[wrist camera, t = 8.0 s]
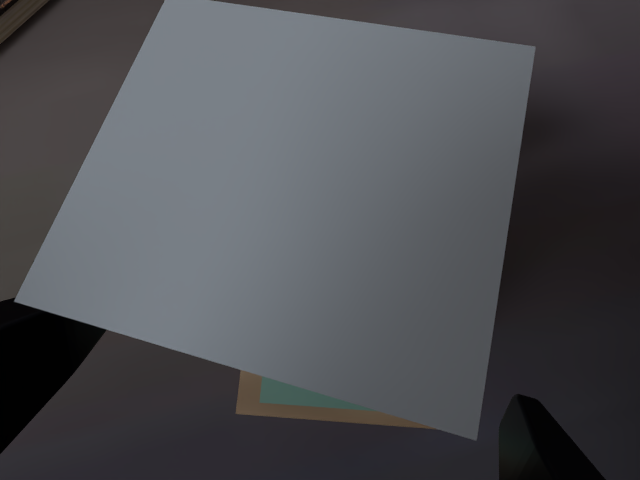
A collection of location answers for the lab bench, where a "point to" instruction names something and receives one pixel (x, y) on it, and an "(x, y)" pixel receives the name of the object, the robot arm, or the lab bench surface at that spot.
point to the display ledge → (304, 404)
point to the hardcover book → (16, 14)
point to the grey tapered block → (302, 205)
